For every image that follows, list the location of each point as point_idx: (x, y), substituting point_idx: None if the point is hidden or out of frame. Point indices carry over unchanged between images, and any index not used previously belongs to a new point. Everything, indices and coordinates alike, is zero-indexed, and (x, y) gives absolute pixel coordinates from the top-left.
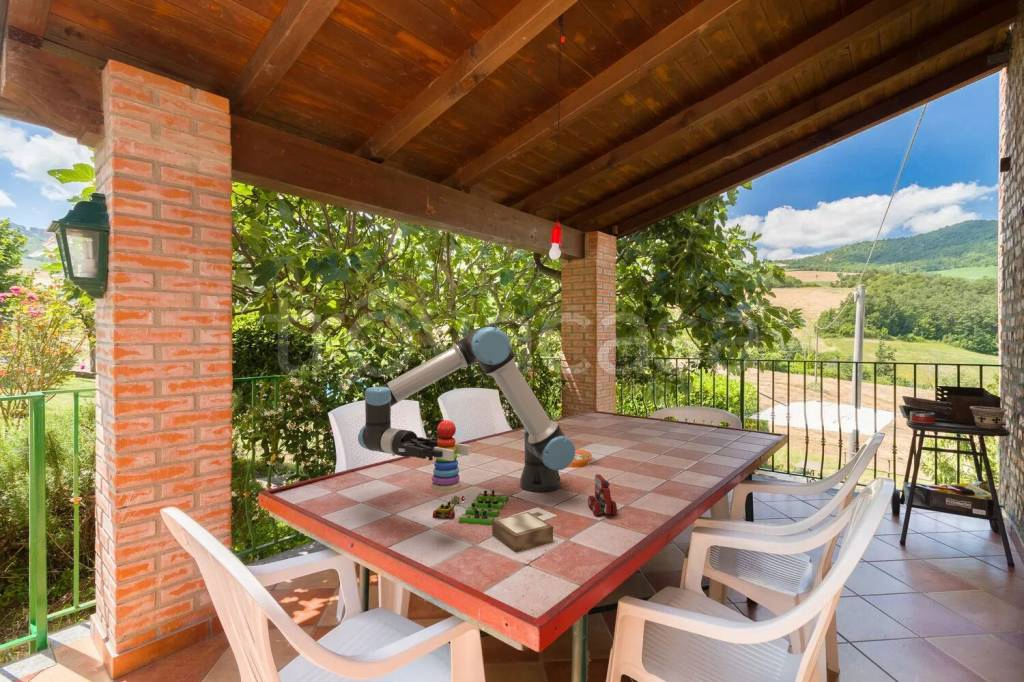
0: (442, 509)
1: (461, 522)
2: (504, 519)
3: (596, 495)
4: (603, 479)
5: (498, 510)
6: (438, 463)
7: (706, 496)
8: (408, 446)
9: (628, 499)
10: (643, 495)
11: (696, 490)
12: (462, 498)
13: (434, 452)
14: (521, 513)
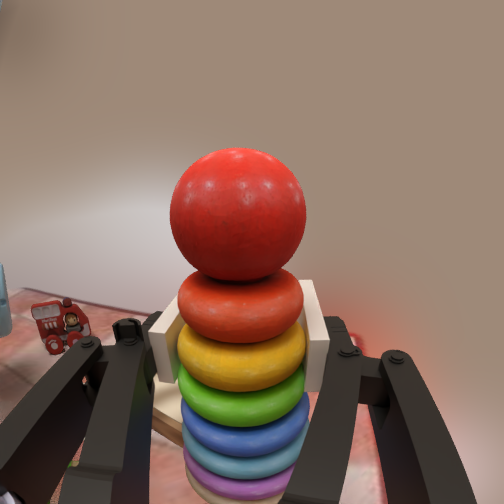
0: None
1: None
2: (175, 415)
3: (47, 333)
4: (55, 301)
5: (74, 461)
6: (305, 396)
7: (43, 291)
8: (461, 485)
9: (34, 327)
10: (27, 318)
11: (27, 294)
12: None
13: (348, 340)
14: None
